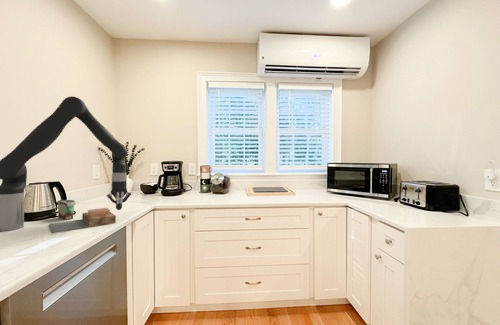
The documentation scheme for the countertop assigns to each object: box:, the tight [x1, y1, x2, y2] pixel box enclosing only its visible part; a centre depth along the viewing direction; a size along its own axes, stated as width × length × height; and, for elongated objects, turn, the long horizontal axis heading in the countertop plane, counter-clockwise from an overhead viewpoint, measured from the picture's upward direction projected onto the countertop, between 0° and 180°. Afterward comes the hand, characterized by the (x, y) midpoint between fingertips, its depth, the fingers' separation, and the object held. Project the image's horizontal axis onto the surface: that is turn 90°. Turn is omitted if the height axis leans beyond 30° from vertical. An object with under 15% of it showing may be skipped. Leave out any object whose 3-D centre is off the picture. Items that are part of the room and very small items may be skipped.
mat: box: [48, 218, 89, 234], centre depth 117 cm, size 14×18×1 cm
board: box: [81, 211, 117, 228], centre depth 126 cm, size 12×18×4 cm, turn 45°
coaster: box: [87, 207, 111, 217], centre depth 126 cm, size 9×7×2 cm
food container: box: [57, 199, 77, 221], centre depth 132 cm, size 12×6×10 cm, turn 59°
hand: (118, 209), depth 133 cm, fingers closed
